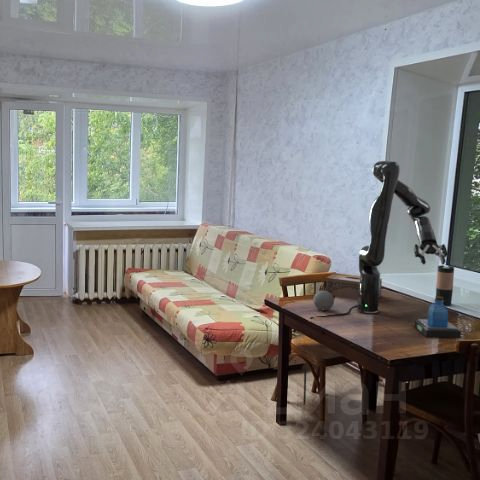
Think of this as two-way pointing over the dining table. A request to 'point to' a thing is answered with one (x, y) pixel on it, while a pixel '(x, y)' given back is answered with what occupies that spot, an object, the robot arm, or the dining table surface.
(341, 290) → the tissue box cover
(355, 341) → the dining table surface
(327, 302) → the decorative ball
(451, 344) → the dining table surface
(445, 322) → the perfume bottle
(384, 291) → the dining table surface
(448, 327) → the scale pan
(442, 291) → the travel mug
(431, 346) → the dining table surface
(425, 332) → the scale
